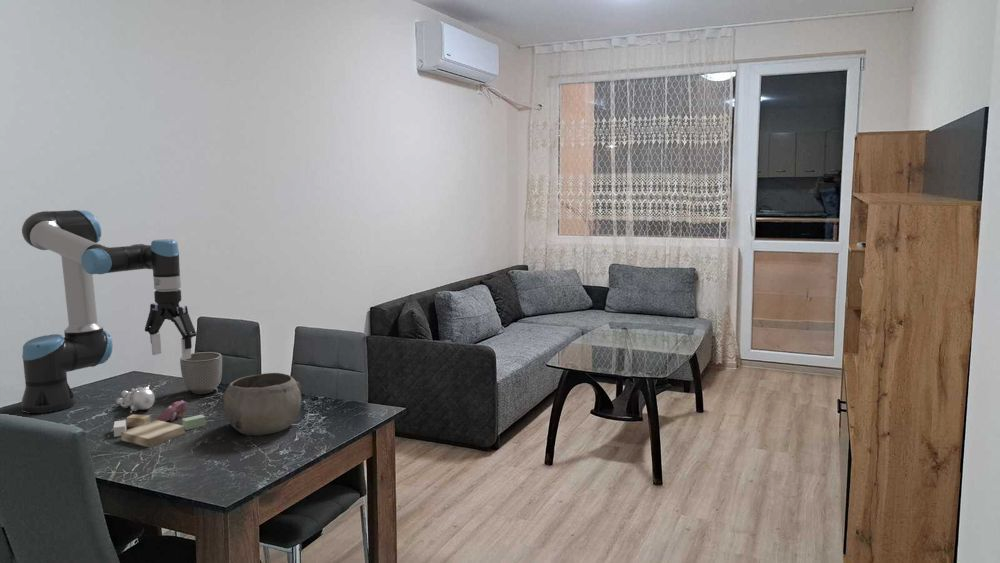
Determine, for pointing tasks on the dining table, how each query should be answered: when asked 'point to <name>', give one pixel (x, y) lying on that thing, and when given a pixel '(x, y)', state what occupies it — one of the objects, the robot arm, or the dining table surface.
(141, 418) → the brick beech
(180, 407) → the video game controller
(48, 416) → the dining table surface
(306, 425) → the dining table surface
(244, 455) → the dining table surface
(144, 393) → the figurine
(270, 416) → the bowl
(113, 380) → the dining table surface
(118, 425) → the brick white
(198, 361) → the planter
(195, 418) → the brick sage
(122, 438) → the maple slab
